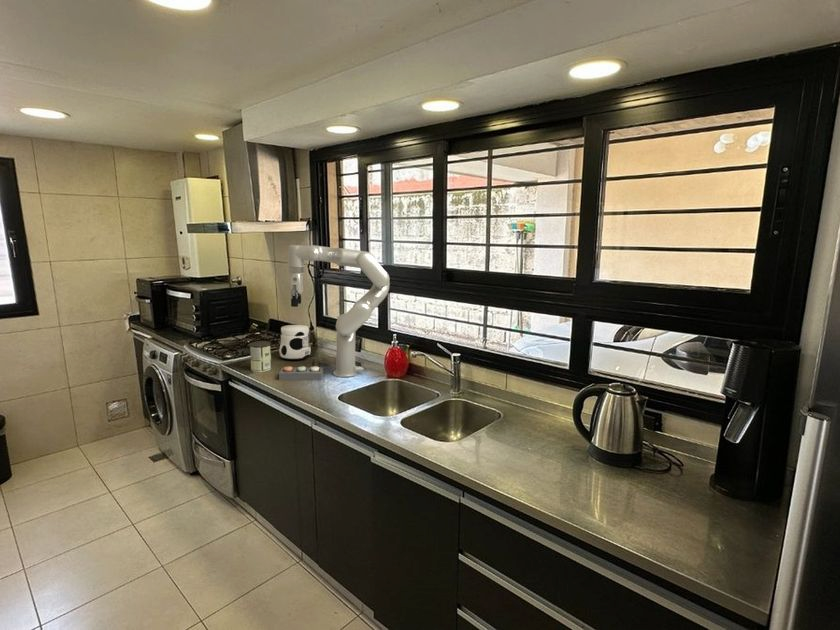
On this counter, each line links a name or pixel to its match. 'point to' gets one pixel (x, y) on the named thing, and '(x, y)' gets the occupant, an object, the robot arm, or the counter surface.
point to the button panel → (301, 374)
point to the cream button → (315, 369)
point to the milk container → (294, 342)
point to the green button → (301, 369)
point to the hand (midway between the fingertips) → (296, 305)
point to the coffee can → (260, 356)
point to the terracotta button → (288, 369)
